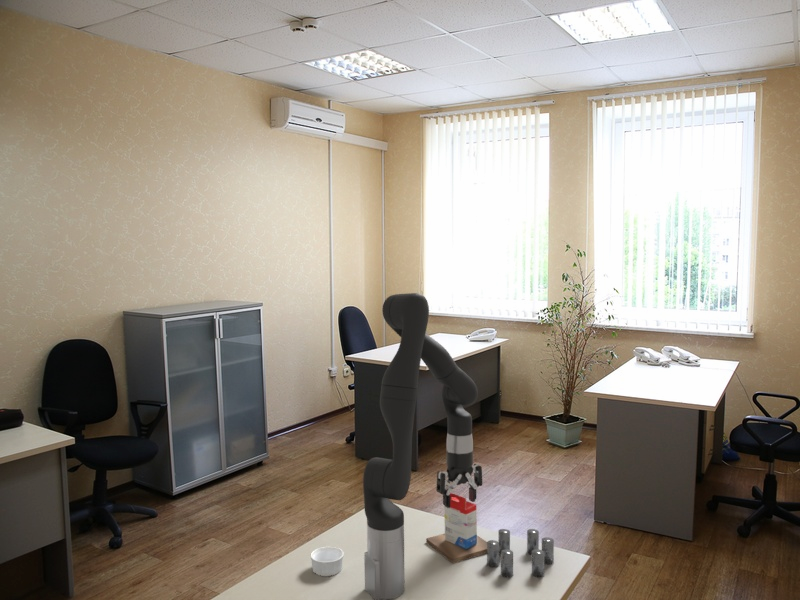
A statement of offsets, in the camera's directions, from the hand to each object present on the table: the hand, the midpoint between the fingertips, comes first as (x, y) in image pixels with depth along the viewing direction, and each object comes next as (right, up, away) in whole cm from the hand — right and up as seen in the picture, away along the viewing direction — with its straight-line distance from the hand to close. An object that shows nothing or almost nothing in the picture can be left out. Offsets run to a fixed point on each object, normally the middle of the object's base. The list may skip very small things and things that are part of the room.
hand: (459, 504), depth 173 cm
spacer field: (+16, -13, -9) cm, 22 cm away
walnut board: (0, -13, +1) cm, 13 cm away
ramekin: (-37, -14, -11) cm, 41 cm away
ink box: (0, -12, +1) cm, 12 cm away
